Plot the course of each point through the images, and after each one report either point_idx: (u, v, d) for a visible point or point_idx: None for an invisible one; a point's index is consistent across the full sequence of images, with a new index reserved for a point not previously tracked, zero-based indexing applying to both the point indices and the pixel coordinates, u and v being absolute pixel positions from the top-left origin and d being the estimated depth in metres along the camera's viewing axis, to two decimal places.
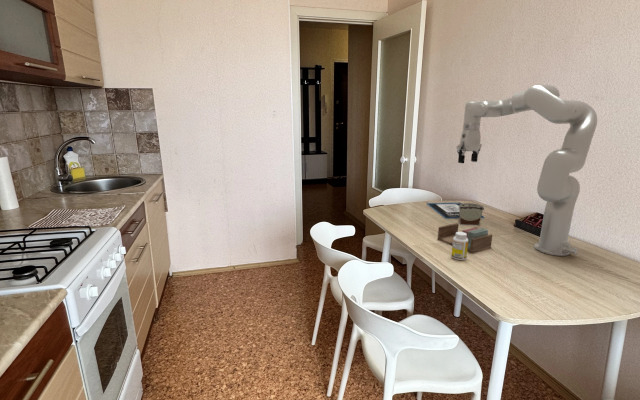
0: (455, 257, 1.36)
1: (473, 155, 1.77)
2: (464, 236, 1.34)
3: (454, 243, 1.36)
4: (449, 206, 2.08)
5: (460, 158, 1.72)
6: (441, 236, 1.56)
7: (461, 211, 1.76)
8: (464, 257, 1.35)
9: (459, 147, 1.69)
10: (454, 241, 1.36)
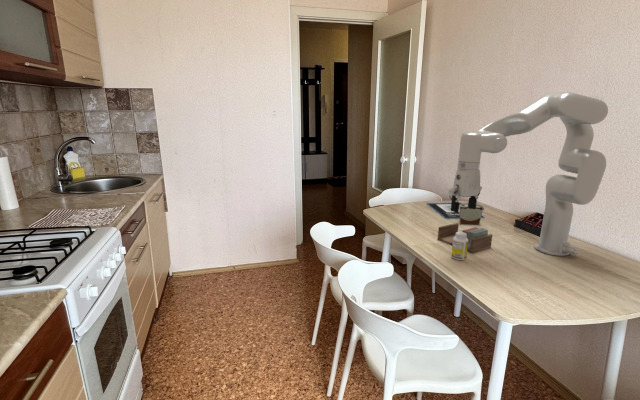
0: (455, 257, 1.36)
1: (471, 200, 1.37)
2: (464, 236, 1.34)
3: (454, 243, 1.36)
4: (449, 206, 2.08)
5: (453, 206, 1.32)
6: (441, 236, 1.56)
7: (461, 211, 1.76)
8: (464, 257, 1.35)
9: (452, 192, 1.29)
10: (454, 241, 1.36)
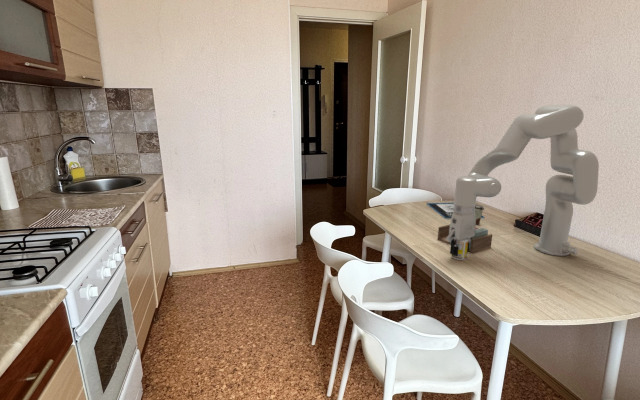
0: (455, 257, 1.36)
1: None
2: None
3: None
4: (449, 206, 2.08)
5: (452, 250, 1.35)
6: (441, 236, 1.56)
7: None
8: (464, 257, 1.35)
9: (450, 239, 1.32)
10: None
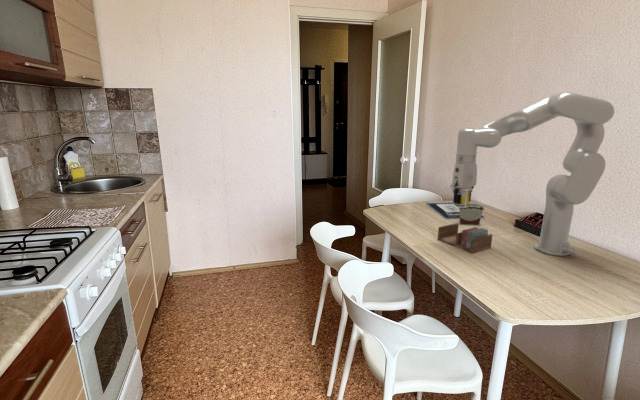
0: (458, 205, 1.45)
1: None
2: None
3: None
4: (449, 206, 2.08)
5: (456, 198, 1.44)
6: (441, 236, 1.56)
7: (461, 211, 1.76)
8: (466, 205, 1.44)
9: (453, 187, 1.41)
10: None
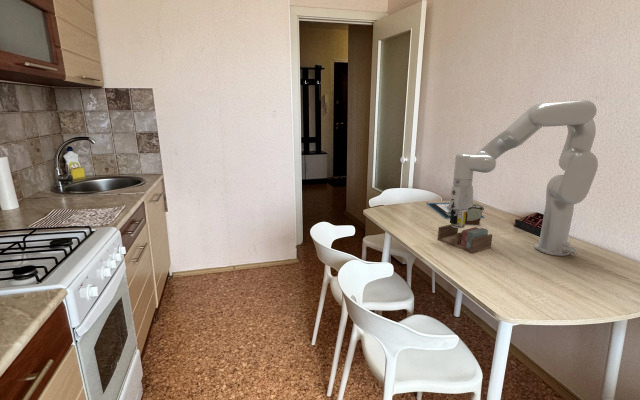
0: (454, 226, 1.52)
1: None
2: None
3: None
4: None
5: (452, 219, 1.51)
6: (441, 236, 1.56)
7: None
8: (462, 225, 1.51)
9: (450, 208, 1.48)
10: None
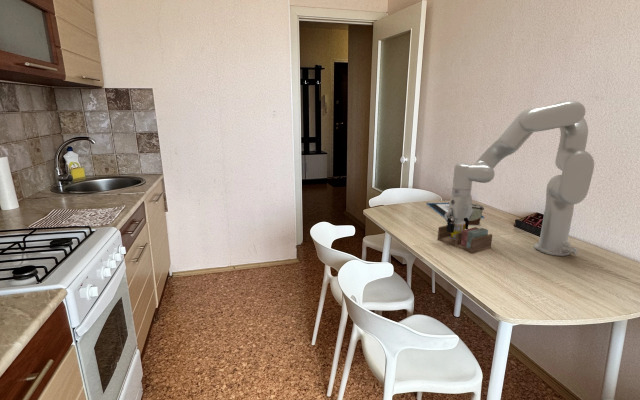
0: (454, 238, 1.53)
1: None
2: (461, 219, 1.51)
3: None
4: None
5: (449, 227, 1.51)
6: (441, 236, 1.56)
7: None
8: None
9: (447, 216, 1.48)
10: None
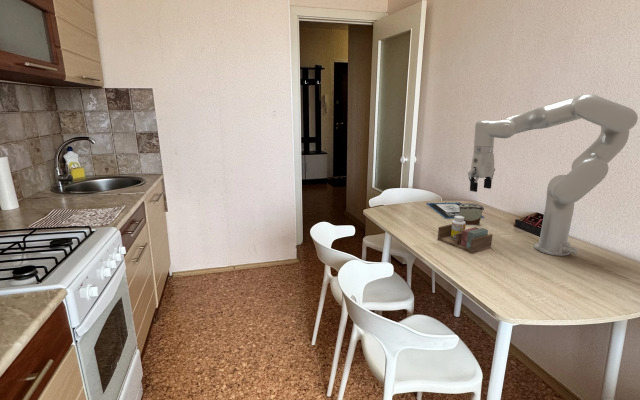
0: (454, 238, 1.53)
1: (486, 181, 1.54)
2: (461, 219, 1.51)
3: (453, 225, 1.53)
4: (449, 206, 2.08)
5: (472, 186, 1.48)
6: (441, 236, 1.56)
7: (461, 211, 1.76)
8: None
9: (471, 174, 1.46)
10: (453, 224, 1.53)
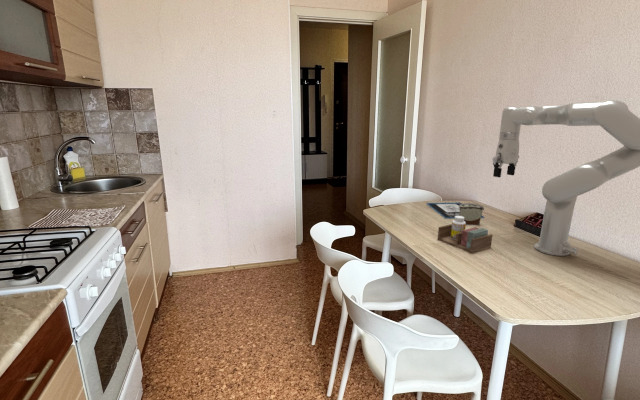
0: (454, 238, 1.53)
1: (509, 168, 1.56)
2: (462, 219, 1.51)
3: (453, 225, 1.53)
4: (449, 206, 2.08)
5: (496, 171, 1.51)
6: (441, 236, 1.56)
7: (461, 211, 1.76)
8: None
9: (496, 159, 1.48)
10: (453, 224, 1.53)
